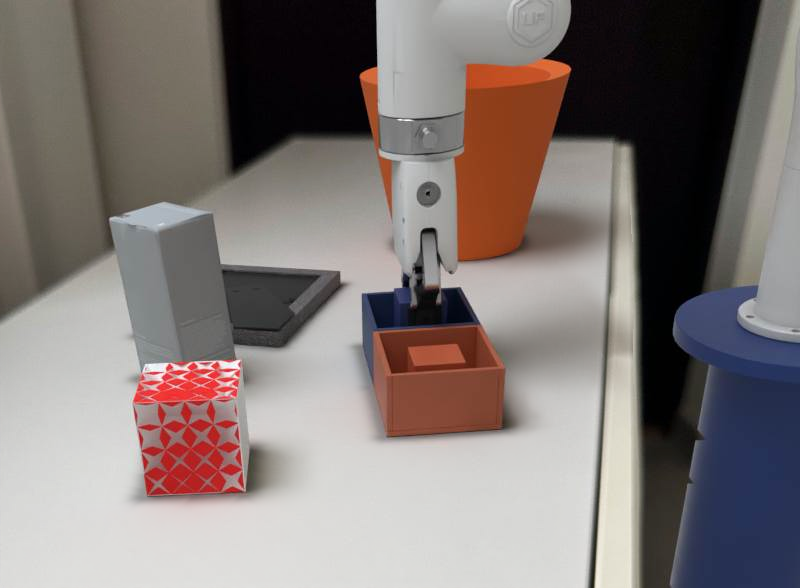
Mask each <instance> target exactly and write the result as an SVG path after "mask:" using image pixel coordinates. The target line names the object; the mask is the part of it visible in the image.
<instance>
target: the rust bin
mask: <svg viewBox="0 0 800 588" xmlns="http://www.w3.org/2000/svg"><path fill="white" fill-rule="evenodd" d="M447 344H458V347H459V349H460V351H461V353H462V355H463V357H464V359H465V361H466V369H455V370H440V371H425V372H410V373H408V347H417V346H432V345H447ZM373 367H374V387H373V391H374V394H375V398H376V401H377V405H378V408H379V412H380V417H381V420H382V423H383V427H384V431H385V435H386V437H387V438H389V437H401V436H402V437H403V436H416V435H417V436H419V435H430V434H432V435H433V434H434V435H435V434H446V433H447V434H448V433H461V432H476V431H490V430H491V431H492V430H502V429H503V428H502V427H503V416H504V415H503V413H504V396H505V382H506V366H505V365H504V363H503V362H502V359H501V358H500V356H499V354H498V352H497V350H496V349H495V347H494V345H493V343H492V341H491V339H490V338H489V336H488V334H487V332H486V331H485V328H484V327H483V325H482V323H481V324H479V325H464V326H449V327H434V328H418V329H403V330H388V331H379V332H378V331H373Z"/></svg>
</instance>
